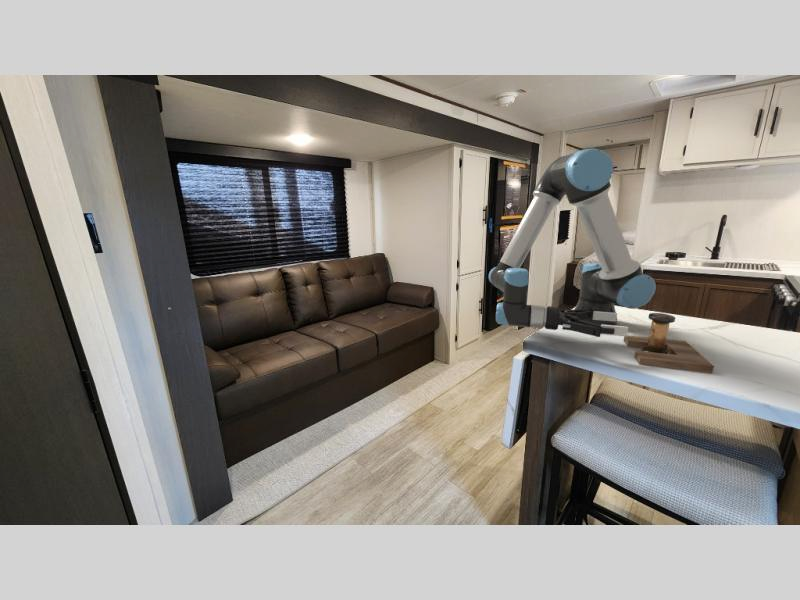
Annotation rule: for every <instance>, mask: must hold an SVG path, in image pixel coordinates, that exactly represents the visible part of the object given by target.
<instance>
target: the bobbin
mask: <svg viewBox="0 0 800 600" xmlns="http://www.w3.org/2000/svg"><path fill="white" fill-rule="evenodd" d="M648 319H649V320H650V321H651V325H650V330H649V335H648V337H649V339H648V344H647V347H643V348H641V351H644V352H653V353H662V354H669V353H668V352H667V351H666V350H664V348H665V343H666V339H668V338H667V337H668V333H669V329H670V328H669V327H670V324H671V323H675V322H676V317H675V315H672V314H667V313H662V312H651V313H649V314H648Z"/></svg>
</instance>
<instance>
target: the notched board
mask: <svg viewBox="0 0 800 600" xmlns="http://www.w3.org/2000/svg"><path fill="white" fill-rule="evenodd" d="M648 339H649V336H648V337H647V336H640V335H639V336H638V335H629V334H627V337H626V336H623V342H624V344H625V345H626V347H629V348H630V347H631V348H641V349H642V348H643V347H647V344H648ZM664 350H665V351H666V352H667V353H668V354H662V353H653V352H644V351H642V350H634V357H633V358H634V359H635V360H636V361H637V363H638V364H639V365H645V366H653V367H659V368H660V367H661V368H668V369H677V370H685V371H693V372H698V373H699V372H700V373H707V374H713V371H714V367H715V366H714V365H713V363H711V362H710V361H709V360H708V359H707V358H705V357H704V356H703V355H702V354H701V353H699V351H698V350H696V349H695V348H694V347H693V346H692V345H691V344H689V343H688V342H687V341H686V340H681V339H671V338H670V339H669V338H666V343H665V348H664Z"/></svg>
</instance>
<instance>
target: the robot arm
mask: <svg viewBox="0 0 800 600" xmlns="http://www.w3.org/2000/svg"><path fill="white" fill-rule="evenodd" d="M612 160H613V159H612V158H611V156H610V155H609V154H608V153H607V152H605V151H604V150H602V149H598V148H587V149H586V148H585V149H580V150H578V151H575V152H572V153H569V154H566V155H563V156H560V157H558V158H557V159H555V160H553V161H552V162H551V163H550V165H548V167H547V168H546V169H545V171H544V172H543V174H542V176H541V178H540V179H539V181H538V183H537V184H536V186H535V188H534V190H533V192H532V195H533V198H532V200H531V202H530V204H529V206H528V207H527V209H526V212H525V213H524V215H523V217H522V219H521V221H520V223H519V225H518V226H517V228H516V230H515V232H514V233H513V235H512V238H511V239H510V241H509V244H508V246H507V247H506V249H505V251H504V253H503V255H502V257H501V258H500V260H499V263H497V266H494V267H493V268H491V269H490V271H489V273H488V281H489V283H491V285H493V286H494V287H495V288H496V289H499V290H500V291H501V292H503V299H502V302H498V303H497V305H496V308H495V309H496V310H495V311H496V312H495V322H496V323H497V324H498V325H503V326H509V327H511V326H512V327H521V328H522V327H524V328H532V329H533V330H536V329H544V328H545V330H551V331H556V330H558V328H559V326H562V330H566V331H572V332H576V333H581V334H585V335H589V336H593V337H596V338H600V337H601V335H604V336H605V335H608V336H618V337H624V336H626V337H627V335H628V332H629V327H628V326H622V325H617V324H618V313H617V311H616V308H615V305H617V306H620V307H621V308H627V309H633V310H635V309H639V308H641V307H643V306H645V305H647V304H648V303H649V302H650V301H651V300H652V297H653V296H654V294H656V293H655V292H656V289H657V288H656V287H657V285H656V281H655V280H654V278H653V277H652V276H650V275H648V274H645V273H644V272H643V270H642V267H641V264H640V262H639V261H637V260H635V259H632V257H631V254H630V251H629V248H628V246H627V244H626V241H625V238H624V235H623V232H622V230H621V227H620V224H619V222H618V219H617V217H616V213H615V211H614V209H613V205H612V202H611V200H610V197H609V195H608V192H609V191H610V188H611V186H612V185H611V182H610V180H611V178H612V174H613V172H614V164H613V161H612ZM565 196H566V198H567V200H568V203H569V204H570V205H572V206H575V207H576V208H577V211H578V214H579V216H580V218H581V221H582V223H583V226H584V228H585V230H586V234H587V235H588V238H589V240H590V243H591V245H592V249H593V250H594V253H595V256H596V258H597V260H598V262H592V263H589V262H588V263H585V264H584V265H583V267H582V271H581V278H580V279H581V281H580V289H579V297H578V302H577V303H576V306H575V307H574V308H573V309H560V308H559V307H558V306H552V305H551V306H547V307H546V306H545V305H538V304H537V305H536V304H535V305H534V304H527V303H528V291H529V283H530V279H529V278H530V277H529V275H530V274H529V271H528V269H526V268H522V267H521V266H522V265H523V263H524V261H525V259H526V258H527V255H528V254H529V252H530V250H531V249H532V247H533V246H534V243H535V241H536V240H537V238H538V236H539V234H540V233H541V231H542V229H543V227H544V226H545V224H546V222H547V220H548V218H549V217H550V215H551V213H552V211H553V209H554V208H555V206H558V205H559V204H560V203H561V202H562V199H563V198H564V197H565Z"/></svg>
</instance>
